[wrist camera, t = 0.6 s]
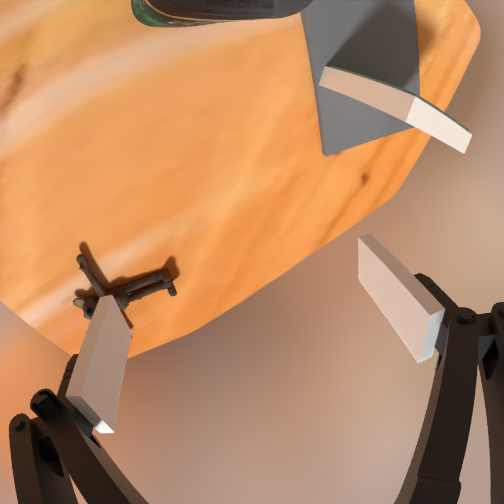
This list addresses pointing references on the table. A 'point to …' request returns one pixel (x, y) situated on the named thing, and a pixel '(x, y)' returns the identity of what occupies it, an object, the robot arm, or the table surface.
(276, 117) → the table surface
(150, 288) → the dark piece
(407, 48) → the mat
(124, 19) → the table surface
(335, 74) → the tile
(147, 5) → the coffee jar
